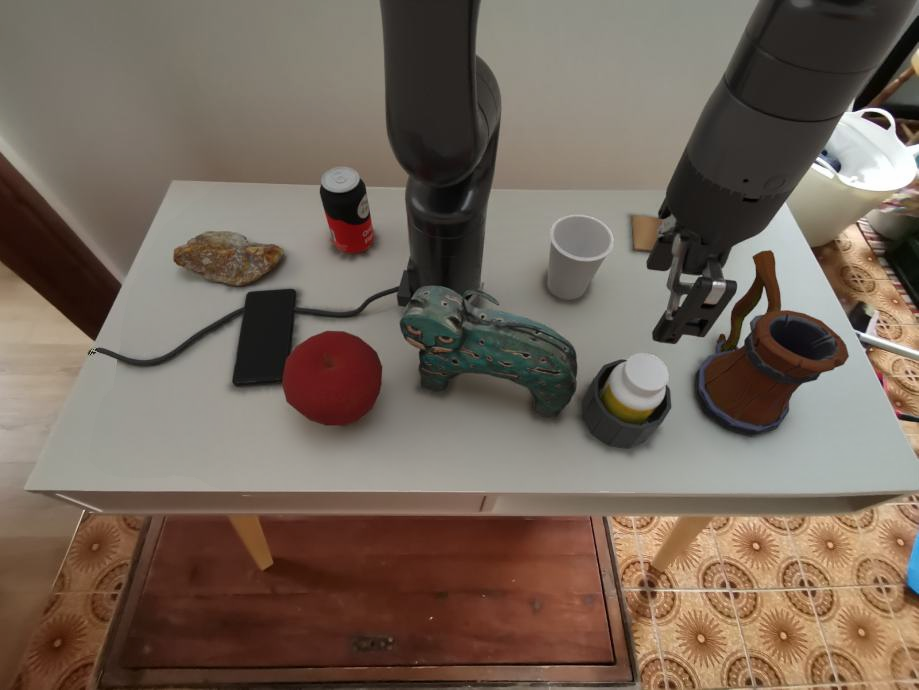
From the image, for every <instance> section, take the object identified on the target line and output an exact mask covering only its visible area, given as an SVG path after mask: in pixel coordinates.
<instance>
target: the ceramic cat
mask: <svg viewBox="0 0 919 690" xmlns="http://www.w3.org/2000/svg"><path fill="white" fill-rule="evenodd" d="M472 294H476V295H479V296H480V297H482V298H484V299H486V300H487V301H489V302H491V303H492V304H495V305H496V306H500V302H499V301H498V300H497V299H496V297H494V296H492V295H491V294H489V293H487V292H485V291H483V290H481V291H480V290H468V291H466V292H465V293H464V295H463V297H462V296H460V295H459V294H458V293H456V292H455V291H453V290H451V289H449V288H445V287H442V286H424V287H421V288H419V289H418V290H417V291H416V292H415V294H414V295H413V297H412V298H411V300H410V301H409V303H408V305H407V306H406V307H404V310H403V312H402V314H401V317H400V319H399V328H400V332H401V333H402V336H403V338H404V340H405V341H406V342H407V343H409V344H410V345H411V346H413V347H414V348H417V349H419V351H418V359H419V363H418V372H419V376H420V385H421V388H422V389H426V390H430V391H434V392H438V393H443V392H444V391H446V389H447V387H448V385H449V383H450V380H452V379H454V378H457V377H458V376H460V375H462V374H478V375H487V376H490V377H492V378H493V377H494V378H497V379H502V380H508V381H510V382H512V383H514V384H517V385H519V386H522V387H523V388H526V389H527V390H528V391H529V392H530V394H531V395H532V398H533V400H534V401H533V402H534V403H533V404H534V405H533V408H534V412H535V414H536V415H539V416H541V417H545V418H550V419H553V418H557V416H558V415H559V414H560V413H561V412H562V411H563V410H564V409H565V407H566V406H568V405H569V404H570V403H571V401H572V398H573V396H574V395H575V393H576V392H577V388H578V381H577V377H578V369H579V368H578V360H577V351H576V349H575V347H574V345H573V344H572V343H571V342H570V340H568V339H567V338H565V337H564V336H562V335H561V333H559V332H557V331H556V330H555V329H553V328H551V327H549V326H548V325H545V324H543V323H541V322H538V321H536V320H533V319H531V318H528V317H525V316H522V315H519V314H515V313H512V312H508V311H507V312H506V311H502V310H497V309H489V308H488V309H487V308H479V307H478V308H476V307H474V306H472V305H471V304H470V303H469V302H468V301H467V300H466V299H465V296H467V295H472Z"/></svg>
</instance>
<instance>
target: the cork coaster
mask: <svg viewBox="0 0 919 690" xmlns="http://www.w3.org/2000/svg"><path fill="white" fill-rule="evenodd" d="M662 223H663V219H659V218H658V217H655V216H646V215H637V214H632V216H631V225H632V226H631V229H632V244H633V251H636V252H637V251H638V252H645V253H651V251H652V249H653V247H654V245H655V243H656V241H657V239H658V237H657V229H658V228H659V226H660V225H661V224H662Z"/></svg>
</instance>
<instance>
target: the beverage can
mask: <svg viewBox="0 0 919 690" xmlns="http://www.w3.org/2000/svg"><path fill="white" fill-rule="evenodd" d="M320 183H321V184H320V186H319V196H320V200H321V204H322V207H323V211H324V215H325V218H326V222H327V226H328V229H329V233H330V237H331V240H332V243H333V245H334V247H335V248H336V249H337V250H338V251H341V252H343V253H346V254H358V253H361V252H364V251H366V250H367V249H369V247H371V245H372V244H373V242H374V239H375V234H374V227H373V222H372V216H371V210H370V203H369V198H368V191H367V187H366V184H365V182H364V181H363V179H362V178H361V177H360V174H359V172H358V171H356V169H353V168H352V167H348V166H335V167H332V168H330V169H328V170H327V171H325V172H324V173H323V175H322V176H321V180H320Z"/></svg>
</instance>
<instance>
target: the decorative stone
mask: <svg viewBox="0 0 919 690" xmlns="http://www.w3.org/2000/svg"><path fill="white" fill-rule="evenodd" d="M285 256H286V252H285V249H284V248H282V247H280V246H279V245H277V244H276V243H259V242H249V241H248V240H247V237H246V236H245V235H243V234H241V233H240V232H233V231H230V230H221V231H219V230H218V231H216V230H208V231H204V232H201V233H200V234H198V235H196V236H195V237H192V238H190V239H189V240H187V242H186V243H184V244H182V245H178V246H177V247H174V249H173V255H172V258H173V262H174V263H175V264H176V265H177V266H179V267H182V268H184V269H185V270H187V271H189V272H193V273H195V274H198V275H200V276H203V277H204V278H206V279H207V280H209V281H212V282H216V283H217V282H221V283H223V284H224V283H225V284H226V285H228V286H230V287H231V286H237V287H243V286H244V285H249V284H250V283H251V282H255V281H257V280H259V279H260V278H261V277H263V276H264V275H265V274H266V273H268V272H270V271H273V270H274V268H275V267H276V266H277V264H278V263H279V262H280V261H281V260H283V259H284V258H285Z"/></svg>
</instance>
